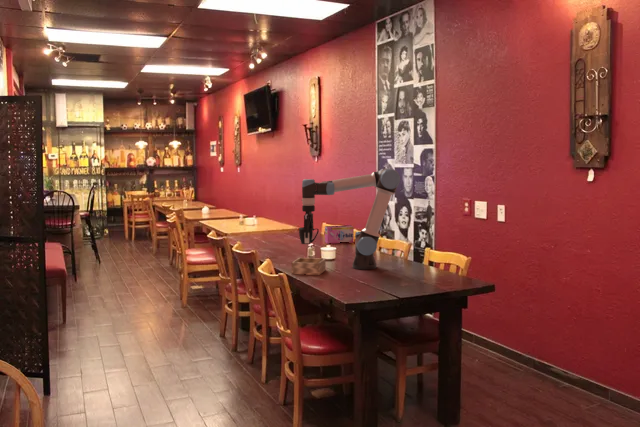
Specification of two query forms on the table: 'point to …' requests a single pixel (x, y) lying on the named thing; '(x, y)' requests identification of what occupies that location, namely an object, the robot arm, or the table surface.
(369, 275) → the table surface
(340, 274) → the table surface
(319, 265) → the open wooden box
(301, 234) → the mug
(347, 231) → the gum box
